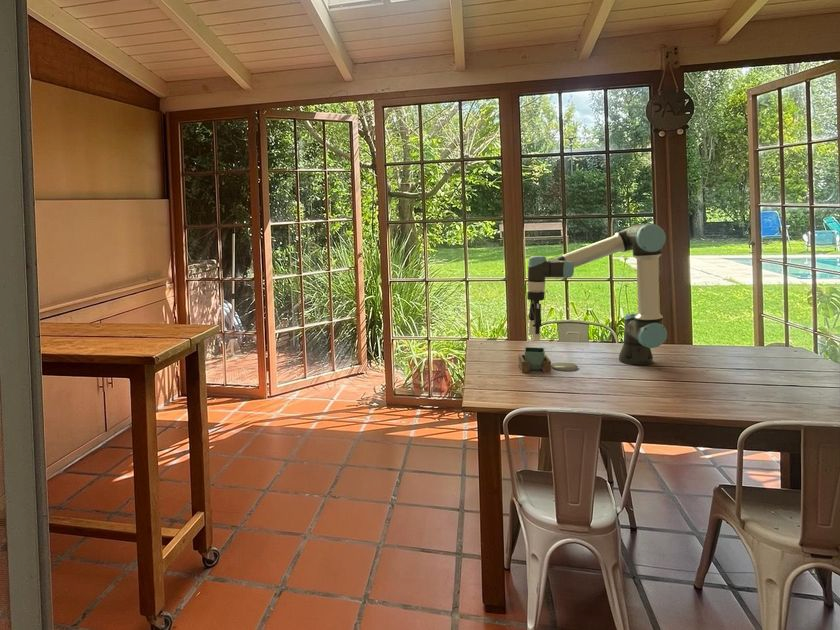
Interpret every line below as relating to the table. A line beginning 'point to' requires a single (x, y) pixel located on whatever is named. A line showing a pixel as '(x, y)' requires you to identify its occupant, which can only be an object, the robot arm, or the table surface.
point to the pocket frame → (526, 364)
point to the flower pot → (534, 357)
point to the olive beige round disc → (564, 366)
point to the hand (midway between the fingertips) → (534, 337)
